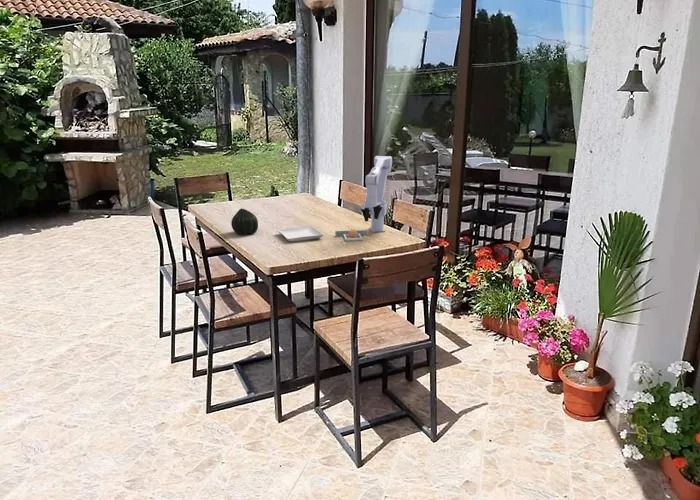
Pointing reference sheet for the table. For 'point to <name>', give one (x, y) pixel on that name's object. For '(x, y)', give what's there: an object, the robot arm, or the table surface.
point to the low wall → (341, 233)
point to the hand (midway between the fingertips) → (371, 220)
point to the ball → (352, 233)
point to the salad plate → (300, 233)
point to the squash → (244, 222)
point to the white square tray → (347, 238)
